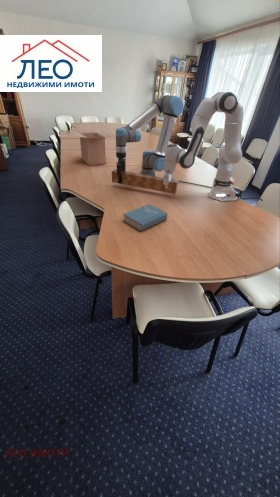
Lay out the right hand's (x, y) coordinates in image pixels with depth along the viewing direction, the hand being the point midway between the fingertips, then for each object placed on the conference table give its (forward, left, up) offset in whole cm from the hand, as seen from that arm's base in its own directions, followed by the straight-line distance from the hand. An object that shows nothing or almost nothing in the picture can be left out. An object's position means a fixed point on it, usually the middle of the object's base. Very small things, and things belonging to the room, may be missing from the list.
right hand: (167, 186), depth 169 cm
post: (+17, -8, -3) cm, 19 cm away
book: (+21, +40, -7) cm, 46 cm away
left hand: (+35, -16, -3) cm, 38 cm away
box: (+62, -89, -7) cm, 109 cm away
